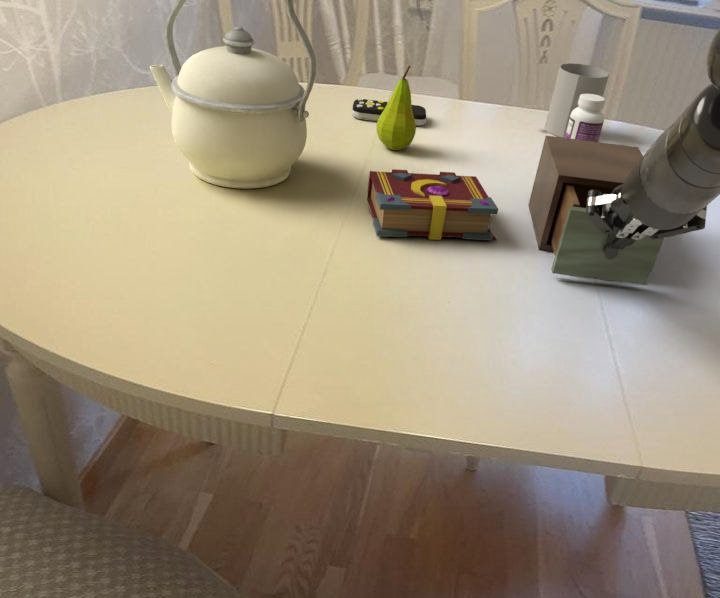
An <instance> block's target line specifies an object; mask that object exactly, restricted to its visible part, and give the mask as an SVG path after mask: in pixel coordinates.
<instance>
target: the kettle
mask: <svg viewBox="0 0 720 598" xmlns="http://www.w3.org/2000/svg"><path fill="white" fill-rule="evenodd" d="M186 1H187V0H177V2H176V3H175V5H174V7H173V8H172V10H171V12H170V14H169V16H168V18H167V21H166V23H165V26H164V27H165V28H164V38H165V45H166V49H167V53H168V57H169V60H170V63H171V65H172V69H173V71H174V74H175V77H174V78H173V79H172V78H171V76H170V75H169V72H168V71H167V70H166V69H167V68H166V67H165V65H164V64H154V65H153V64H152V65H150V66H149V69H150V72H151V73H152V75H153V78H154V80H155V82H156V84H157V86H158V89H159V91H160V94H161V96H162V97H163V100H164V102H165V104H166V106H167V108H168V110H169V111H170V114H171V132H172V137H173V139H174V143H175V145H176V147H177V148H178V150H179V151H180V153H181V154H182V155H183V157H185V159H186V160H188V161H189V163H188V164H189V169H190V171H191V172H192V174H193V175H194V176H196V177H197V178H198V179H200V180H202V181H203V182H207V183H208V184H212V185H216V186H220V187H223V188H231V189H241V190H242V189H243V190H246V189H252V190H253V189H262V188H267V187H272V186H275V185H278V184H281V183H282V182H284V181H285V180H287V178H288V177H289V175H290V174H291V167H292V165H294V163H296V161H297V160H298V159H299V158H300V157H301V155H302V153H303V152H304V150H305V147H306V144H307V137H308V129H307V128H308V127H307V120H306V119H307V118H309V116H310V113H309V111H308V110H306V105H307V102H308V100H309V97H310V96H311V92H312V90H313V87H314V84H315V80H316V77H317V66H318V65H317V64H318V63H317V57H316V54H315V51H314V48H313V45H312V44H311V40H310V39H309V37H308V35H307V33H306V31H305V29H304V28H303V26H302V25H303V24H302V23H301V22H300V20H299V18H298V16H297V14H296V11H295V6H294V0H285V9H286V13H287V16H288V18H289V20H290V23H291V25H292V26H293V28H294V29H295V31H296V34H297V36H298V37H299V39H300V41H301V43H302V45H303V47H304V50H305V52H306V55H307V57H308V58H307V59H308V63H309V74H308V80H307V83H306V87H305V88H304V86H302V85H301V84H300V83H299V80H298V77H297V75H296V73H295V72H294V70H293V68H291V66H290V65H288V63H287V62H285V61H284V60H283V59H281V58H280V57H278V56H276V55H274V54H272V53H270V52H268V51H265V50H263V49H259V48H254V47H252V46H253V45H255V39H254V38H253V36H252V35H251V33H249V32H248V31H247V30H245V29H244V28H243V27H242V26H235V27H234V28H233V29H230V30H229V31H228V32H227V33H226V34H225V36H224V37H223V38H222V41H223V43H225V44H226V45H221V46H215V47H214V46H213V47H210V48H205V49H203V50H200V51H198V52H196V53H194V54H193V55H191V56H190V57H189V58H188V59H186V60H185V62H184V63H183V65H181V63H180V59H179V57H178V53H177V51H176V46H175V42H174V26H175V25H174V24H175V21H176V19H177V17H178V15H179V13H180V12H181V10H182V8H183V6H184V5H185V3H186Z"/></svg>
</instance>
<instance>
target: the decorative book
mask: <svg viewBox="0 0 720 598" xmlns="http://www.w3.org/2000/svg"><path fill="white" fill-rule="evenodd" d="M366 202H367V204H368V207H369V210H370V213H371V217H372V225H373V228H374V231H375V234H376V237H393V238H394V237H395V238H396V237H397V238H407V237H408V236H416V237H421V236H422V237H427V239H428V240H436V241H437V240H438V241H439V240H440V241H441V240H442V237H443V238H462V240H477V241H478V240H479V241H492V239H493V237H494V238H495V240H498V239H497V237H496V235H495V234H494V233H493V232H492V231H491V229H490V227H489V226H490V222H491V219H493V217H492V215H498V212H499V208H498V206H497V204H496V203H495V202H494V200H493V198H492V197H491V196H489V195H488V193H487V192H486V190H485V189H484V187H483V185H482V183H481V182H480V180H479V179H478V177H477V176H475V175H473V176H472V175H457V174H456V172H454V171H453V172H452V171H451V172H450V171H439V174H434V173H433V174H432V173H415V172H409V171H408V169H397V168H396V169H394V168H393V169H391V171H373V170H370V171H369V176H368V185H367V194H366Z"/></svg>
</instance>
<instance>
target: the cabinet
mask: <svg viewBox="0 0 720 598" xmlns="http://www.w3.org/2000/svg"><path fill="white" fill-rule="evenodd" d="M643 156H644V154H643V153H642V151H641V149H640V148H639V147H638V146H632V145H624V144H618V143H617V144H616V143H609V142H600V141H598V142H593V141H585V140H577V139H570V138H562V137H559V136H555V135H545V136H544V141H543V145H542V149H541V153H540V156H539V162H538V165H537V169H536V173H535V176H534V177H535V178H534V181H533V185H532V189H531V193H530V197H529V201H528V209H529V213H530V218H531V222H532V227H533V230H534V236H535V240H536V244H537V247H538V250H539V251H546V252H553V253H554V251H553V247H552V243H551V239H550V236H549V233H550V229H551V226H552V222H553V219H554V215H555V211H556V208H557V204H558V201H559V197H560V193H561V190H562V186H563V182H566V183H574V184H582V185H590V186H598V187H606V188H614V189H615V188H616V187H617V186H620V185H622V184H624V183H625V181H626V179H627V178H628V176H629V174H630V172H631V171H632V169H633V168H634V167H635V166H636V164H637V163H638V162H639V161H640V160H641V158H642V157H643Z"/></svg>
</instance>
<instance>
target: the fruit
mask: <svg viewBox="0 0 720 598" xmlns="http://www.w3.org/2000/svg"><path fill="white" fill-rule="evenodd" d="M410 69H411V65H408V66H407V68H406V70H405V72H404V74H403V76H402V77H401V78H400V79H399V80H398V83H397V84H396V86H395V88H394V90H393V93H392V94H391V96H390V97H389V100H388V101H387V102H388V104H387V105H386V107H385V109H384V111H383V112H382V114H381V115H380V117H379V119H378V121H376V133H377V137H378V139H379V142H381V143H382V144H383V145H384V146H385V148H387V149H388V150H392V151H400V150H404V149H406V148H407V147H408V146H410V145H411V144H412V142H413V140H414V138H415V136H416V131H417V126H416V122H415V119H414V116H413V112H412V105H413V104H412V92H411V89H410V83H409V81H408V79H407V78H406V76H407V75H408V72H409V70H410Z"/></svg>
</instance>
